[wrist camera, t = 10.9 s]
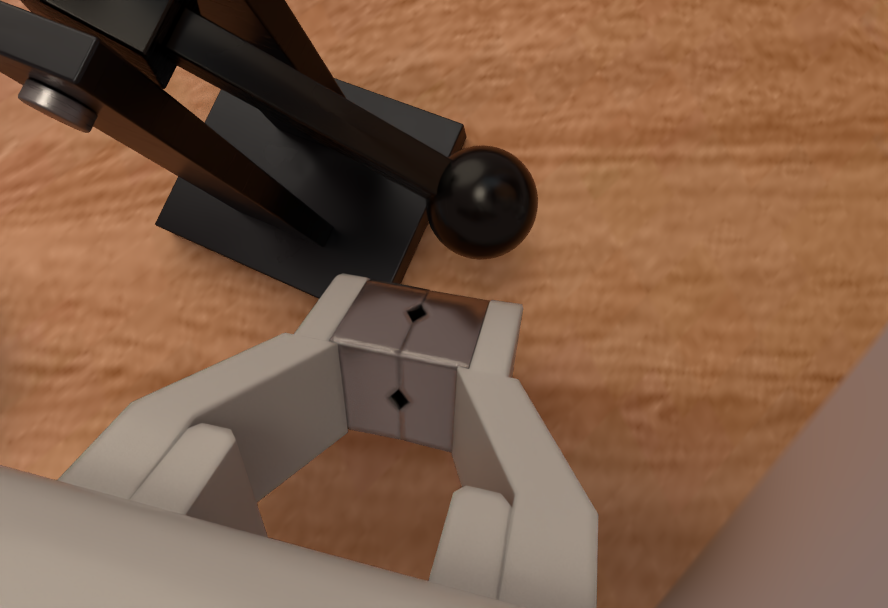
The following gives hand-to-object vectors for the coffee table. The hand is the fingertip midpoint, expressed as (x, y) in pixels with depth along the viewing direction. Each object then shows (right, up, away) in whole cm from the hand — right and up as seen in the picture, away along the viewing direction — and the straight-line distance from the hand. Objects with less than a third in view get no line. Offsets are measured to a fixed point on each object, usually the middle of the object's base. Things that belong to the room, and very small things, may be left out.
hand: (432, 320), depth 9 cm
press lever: (-3, +5, +7) cm, 9 cm away
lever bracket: (-6, +6, +15) cm, 17 cm away
